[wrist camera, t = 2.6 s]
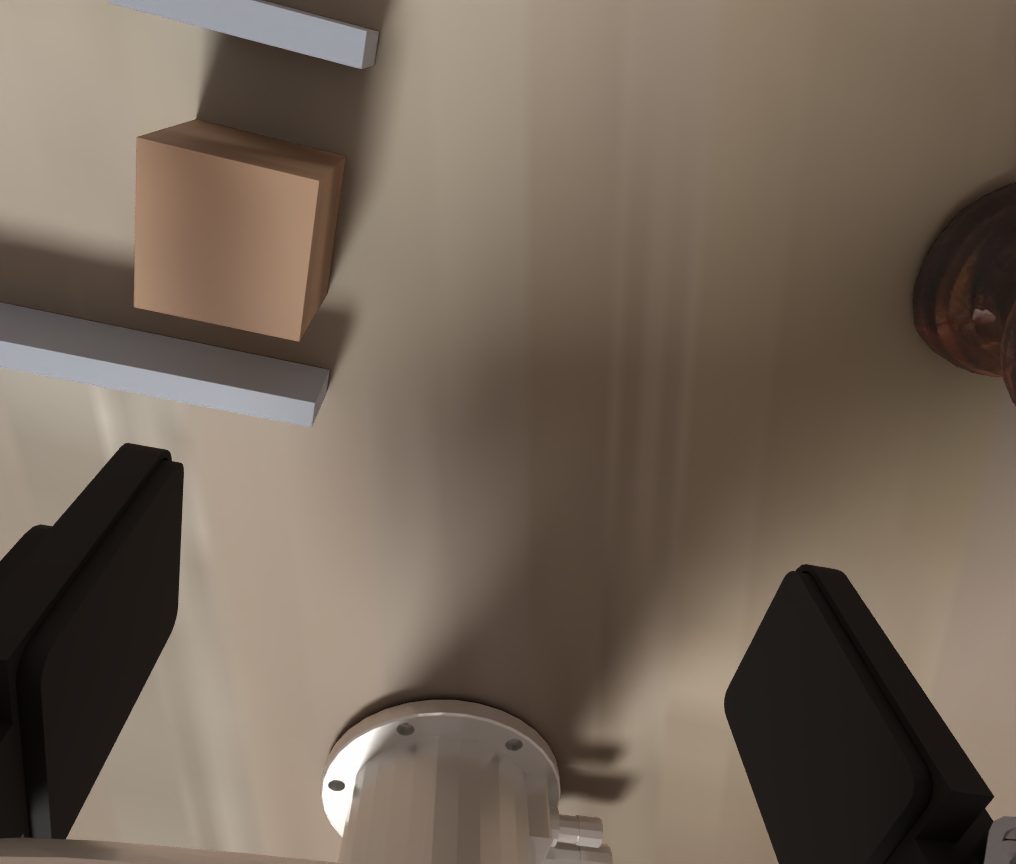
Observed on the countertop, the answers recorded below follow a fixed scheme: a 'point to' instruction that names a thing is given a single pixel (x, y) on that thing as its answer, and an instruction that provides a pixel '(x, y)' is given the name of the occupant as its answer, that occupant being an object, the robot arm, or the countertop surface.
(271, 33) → the box
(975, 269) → the mortar and pestle
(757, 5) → the countertop surface
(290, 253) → the block
